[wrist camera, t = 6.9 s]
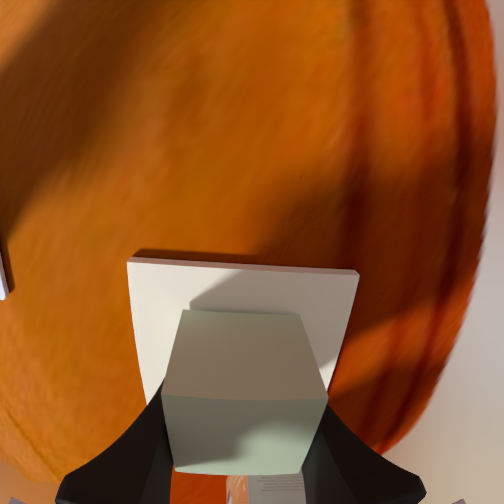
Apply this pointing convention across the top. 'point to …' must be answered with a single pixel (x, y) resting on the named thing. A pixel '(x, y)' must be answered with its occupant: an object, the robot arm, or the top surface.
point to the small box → (266, 489)
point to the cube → (241, 394)
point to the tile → (234, 304)
